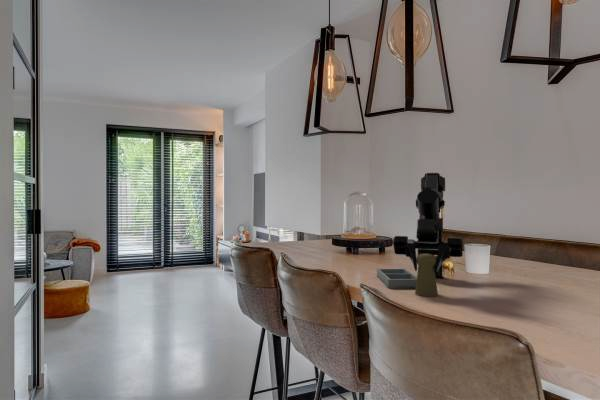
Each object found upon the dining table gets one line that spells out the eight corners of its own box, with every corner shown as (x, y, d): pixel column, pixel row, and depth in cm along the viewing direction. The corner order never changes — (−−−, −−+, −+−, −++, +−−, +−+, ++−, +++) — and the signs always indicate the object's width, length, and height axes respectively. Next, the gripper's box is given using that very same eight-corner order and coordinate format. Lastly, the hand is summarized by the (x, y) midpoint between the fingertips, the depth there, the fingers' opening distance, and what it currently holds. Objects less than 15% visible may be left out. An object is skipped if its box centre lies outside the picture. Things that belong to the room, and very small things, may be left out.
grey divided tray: (405, 276, 142) (405, 268, 142) (421, 287, 123) (420, 279, 123) (376, 276, 142) (376, 268, 141) (388, 288, 123) (388, 279, 123)
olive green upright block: (439, 296, 112) (439, 255, 112) (415, 295, 113) (415, 255, 113) (436, 291, 118) (436, 252, 118) (414, 290, 119) (414, 252, 119)
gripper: (393, 208, 122) (387, 251, 112) (462, 208, 115) (462, 254, 105) (397, 232, 130) (392, 275, 119) (462, 234, 123) (462, 279, 113)
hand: (425, 270), depth 114 cm, fingers closed on olive green upright block, 5 cm apart
